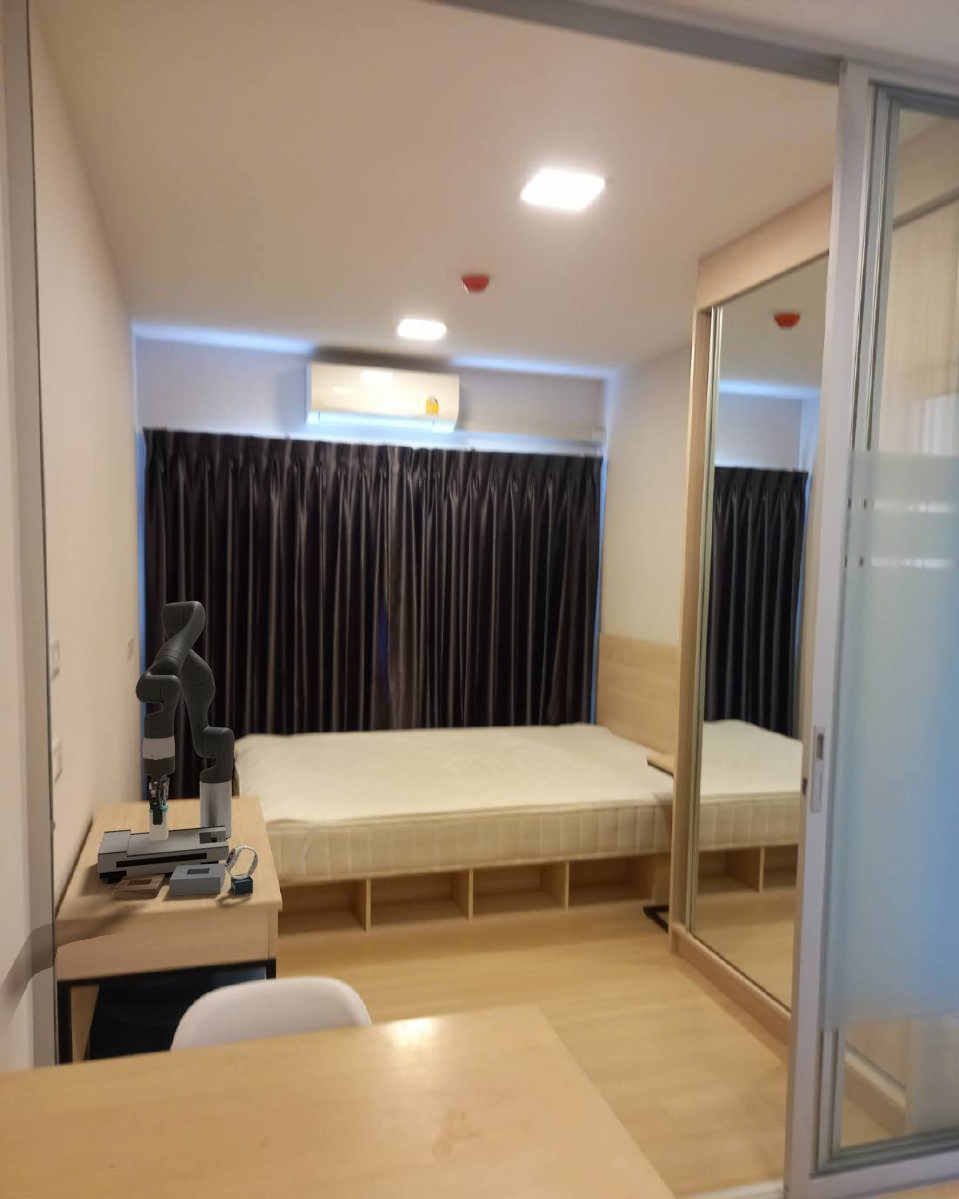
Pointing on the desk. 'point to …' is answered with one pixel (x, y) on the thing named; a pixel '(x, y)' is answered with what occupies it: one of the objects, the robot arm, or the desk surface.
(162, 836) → the plug
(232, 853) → the watch
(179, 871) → the port block
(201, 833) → the game console
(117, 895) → the brown flat square frame
